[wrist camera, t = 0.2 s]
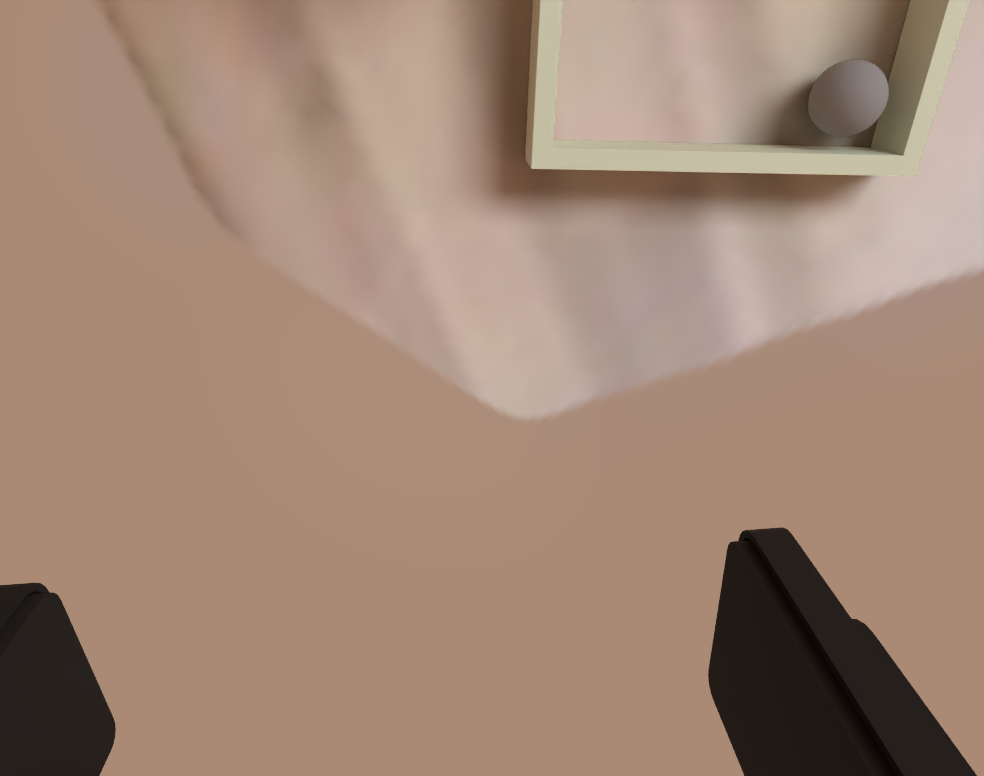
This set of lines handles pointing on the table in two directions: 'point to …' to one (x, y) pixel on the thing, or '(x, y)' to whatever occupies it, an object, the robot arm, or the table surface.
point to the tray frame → (891, 152)
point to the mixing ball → (848, 98)
